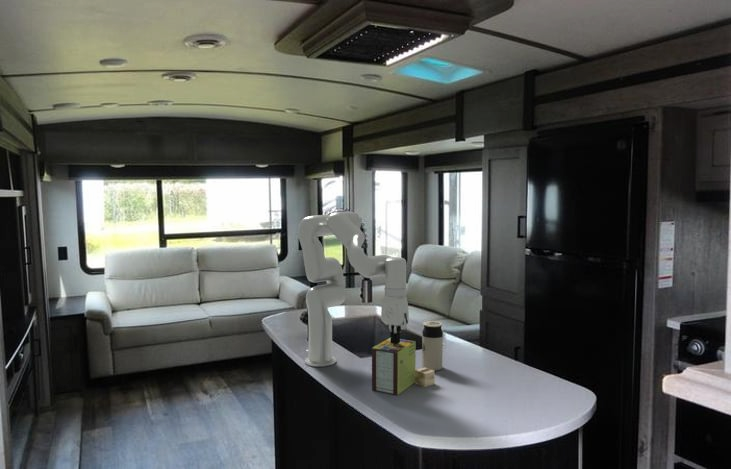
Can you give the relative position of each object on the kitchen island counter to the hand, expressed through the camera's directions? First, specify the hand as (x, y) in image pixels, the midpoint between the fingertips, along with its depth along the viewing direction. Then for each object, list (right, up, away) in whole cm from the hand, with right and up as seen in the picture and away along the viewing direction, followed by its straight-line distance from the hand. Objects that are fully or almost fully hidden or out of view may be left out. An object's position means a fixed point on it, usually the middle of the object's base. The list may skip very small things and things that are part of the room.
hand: (395, 342), depth 196 cm
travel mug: (+16, -14, +21) cm, 30 cm away
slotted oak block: (+11, -16, +4) cm, 20 cm away
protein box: (0, -16, +2) cm, 16 cm away
